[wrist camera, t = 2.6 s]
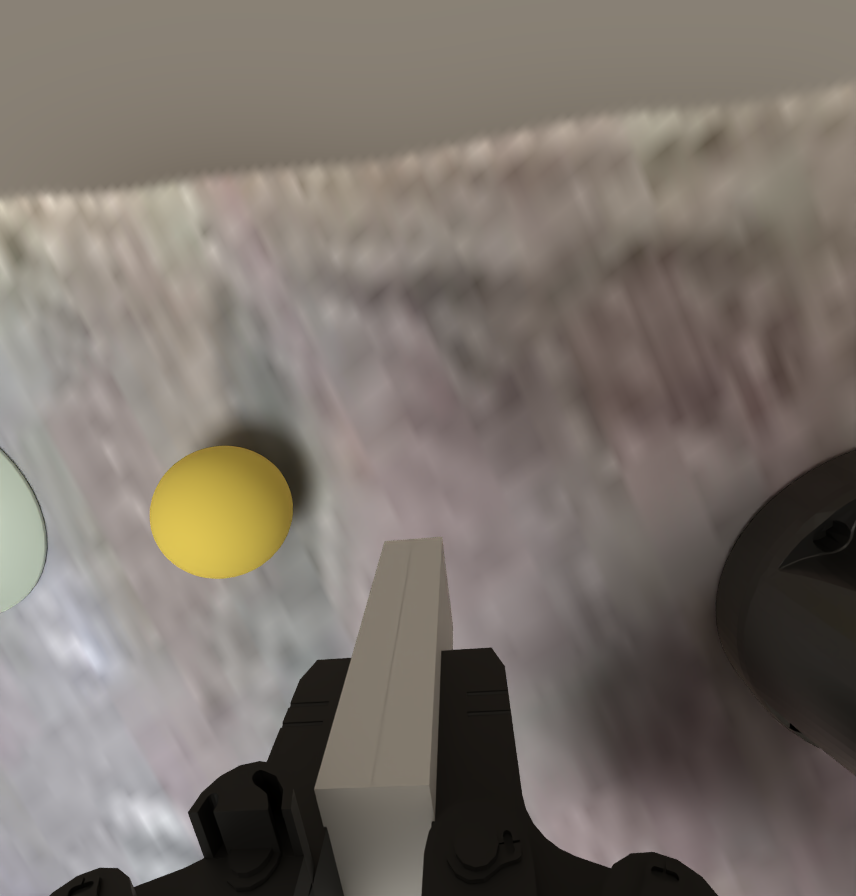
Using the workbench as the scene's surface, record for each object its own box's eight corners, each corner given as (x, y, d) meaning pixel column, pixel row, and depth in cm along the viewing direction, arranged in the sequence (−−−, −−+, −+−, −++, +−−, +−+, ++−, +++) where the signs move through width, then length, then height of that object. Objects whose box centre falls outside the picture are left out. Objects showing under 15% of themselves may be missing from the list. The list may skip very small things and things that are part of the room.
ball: (296, 425, 22) (245, 465, 17) (318, 534, 23) (278, 601, 18) (181, 437, 22) (97, 479, 17) (211, 542, 24) (141, 611, 19)
